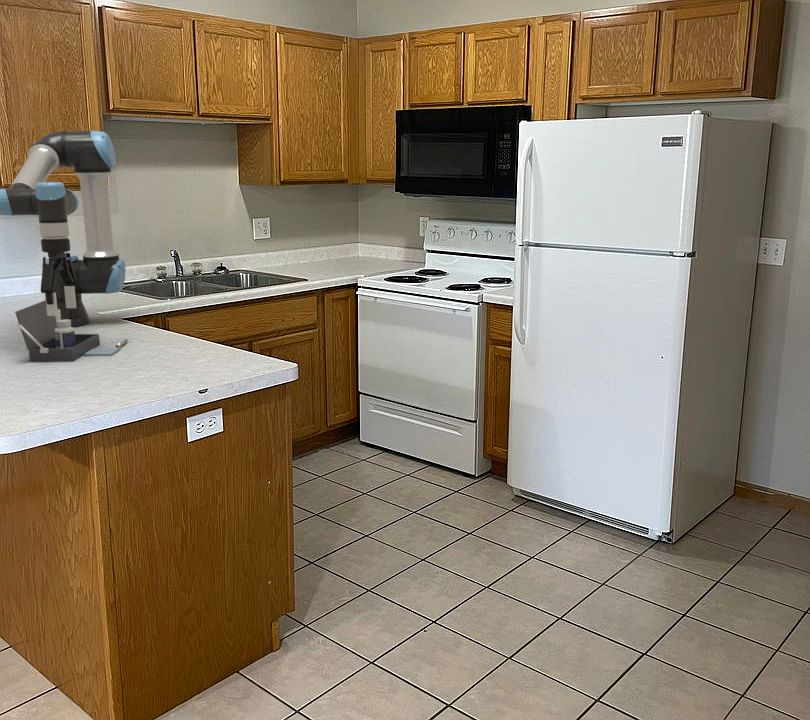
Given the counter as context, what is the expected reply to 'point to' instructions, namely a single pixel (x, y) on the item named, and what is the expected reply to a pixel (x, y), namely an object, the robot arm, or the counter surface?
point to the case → (49, 336)
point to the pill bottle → (64, 334)
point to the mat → (102, 352)
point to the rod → (122, 343)
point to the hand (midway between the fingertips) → (62, 311)
